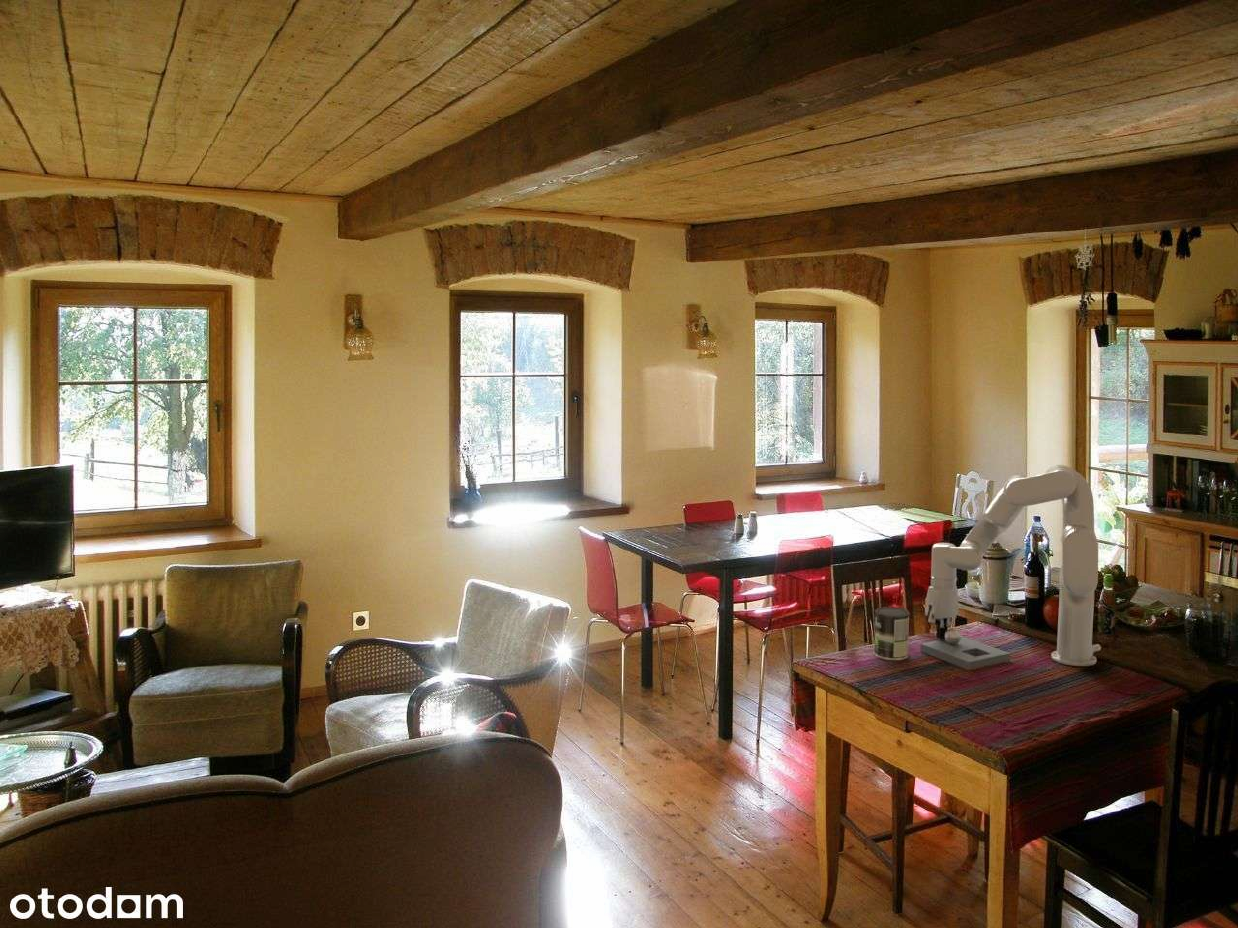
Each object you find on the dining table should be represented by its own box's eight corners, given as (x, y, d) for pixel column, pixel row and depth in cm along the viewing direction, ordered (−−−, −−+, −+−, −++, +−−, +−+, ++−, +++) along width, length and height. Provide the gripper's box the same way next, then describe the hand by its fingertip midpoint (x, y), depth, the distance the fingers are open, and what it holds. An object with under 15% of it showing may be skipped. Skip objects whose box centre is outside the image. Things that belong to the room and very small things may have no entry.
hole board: (960, 643, 324) (960, 635, 324) (1009, 660, 306) (1010, 653, 306) (920, 651, 316) (920, 643, 316) (968, 670, 299) (968, 661, 298)
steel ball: (952, 640, 319) (953, 625, 318) (964, 644, 314) (965, 629, 314) (940, 642, 316) (941, 627, 316) (952, 647, 312) (953, 631, 311)
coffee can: (876, 660, 309) (877, 615, 307) (872, 649, 319) (873, 606, 317) (910, 661, 307) (912, 616, 305) (905, 650, 317) (907, 607, 316)
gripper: (952, 576, 324) (950, 632, 326) (916, 582, 317) (915, 638, 320) (970, 581, 317) (968, 638, 320) (933, 587, 311) (932, 645, 313)
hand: (941, 638), depth 320 cm, fingers closed
